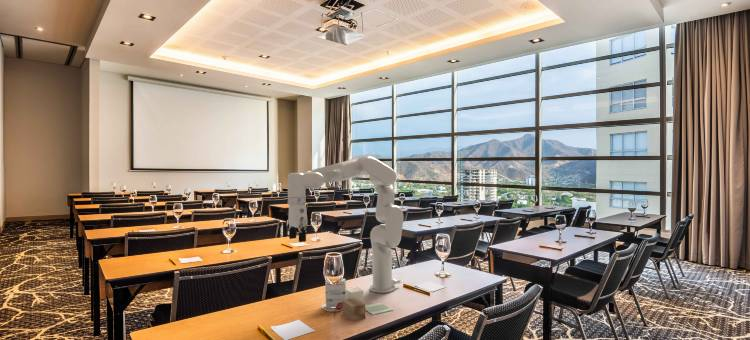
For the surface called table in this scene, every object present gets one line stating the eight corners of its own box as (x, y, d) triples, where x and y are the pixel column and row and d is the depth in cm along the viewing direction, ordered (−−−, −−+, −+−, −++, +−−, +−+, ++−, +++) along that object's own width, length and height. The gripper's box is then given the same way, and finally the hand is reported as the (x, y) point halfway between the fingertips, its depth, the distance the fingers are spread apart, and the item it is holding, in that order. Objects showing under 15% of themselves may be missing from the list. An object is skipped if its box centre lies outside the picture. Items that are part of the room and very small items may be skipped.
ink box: (346, 304, 177) (345, 277, 176) (345, 308, 172) (344, 281, 171) (327, 304, 177) (326, 278, 176) (325, 308, 172) (325, 281, 171)
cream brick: (357, 299, 182) (357, 286, 182) (363, 303, 177) (363, 290, 177) (345, 302, 180) (345, 289, 179) (351, 306, 174) (351, 292, 174)
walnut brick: (355, 311, 168) (355, 297, 168) (365, 318, 160) (365, 303, 160) (342, 314, 165) (342, 300, 165) (352, 321, 157) (351, 306, 157)
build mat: (381, 303, 177) (381, 302, 177) (393, 310, 168) (393, 309, 168) (361, 307, 172) (361, 306, 172) (372, 315, 163) (372, 314, 163)
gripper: (313, 201, 168) (314, 242, 169) (296, 199, 182) (297, 236, 183) (297, 202, 164) (298, 244, 164) (280, 200, 178) (281, 238, 178)
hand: (297, 240), depth 173 cm, fingers open, 9 cm apart
